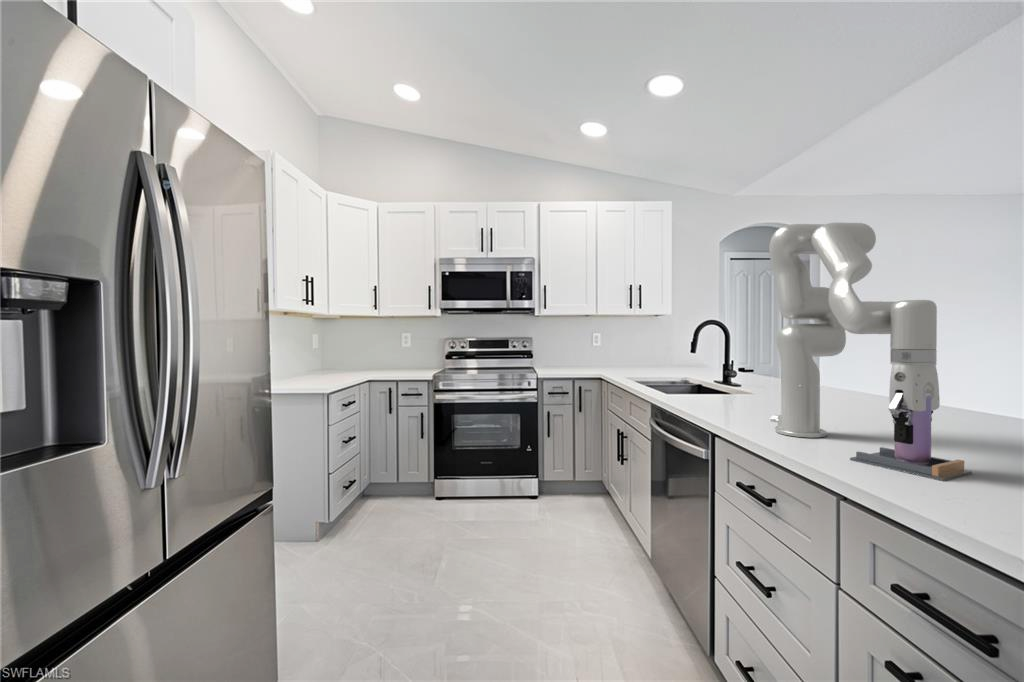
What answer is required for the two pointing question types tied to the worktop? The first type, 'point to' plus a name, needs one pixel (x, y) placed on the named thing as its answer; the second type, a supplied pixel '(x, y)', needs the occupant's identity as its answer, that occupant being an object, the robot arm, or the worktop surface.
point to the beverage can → (917, 438)
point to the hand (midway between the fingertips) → (912, 440)
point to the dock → (914, 465)
